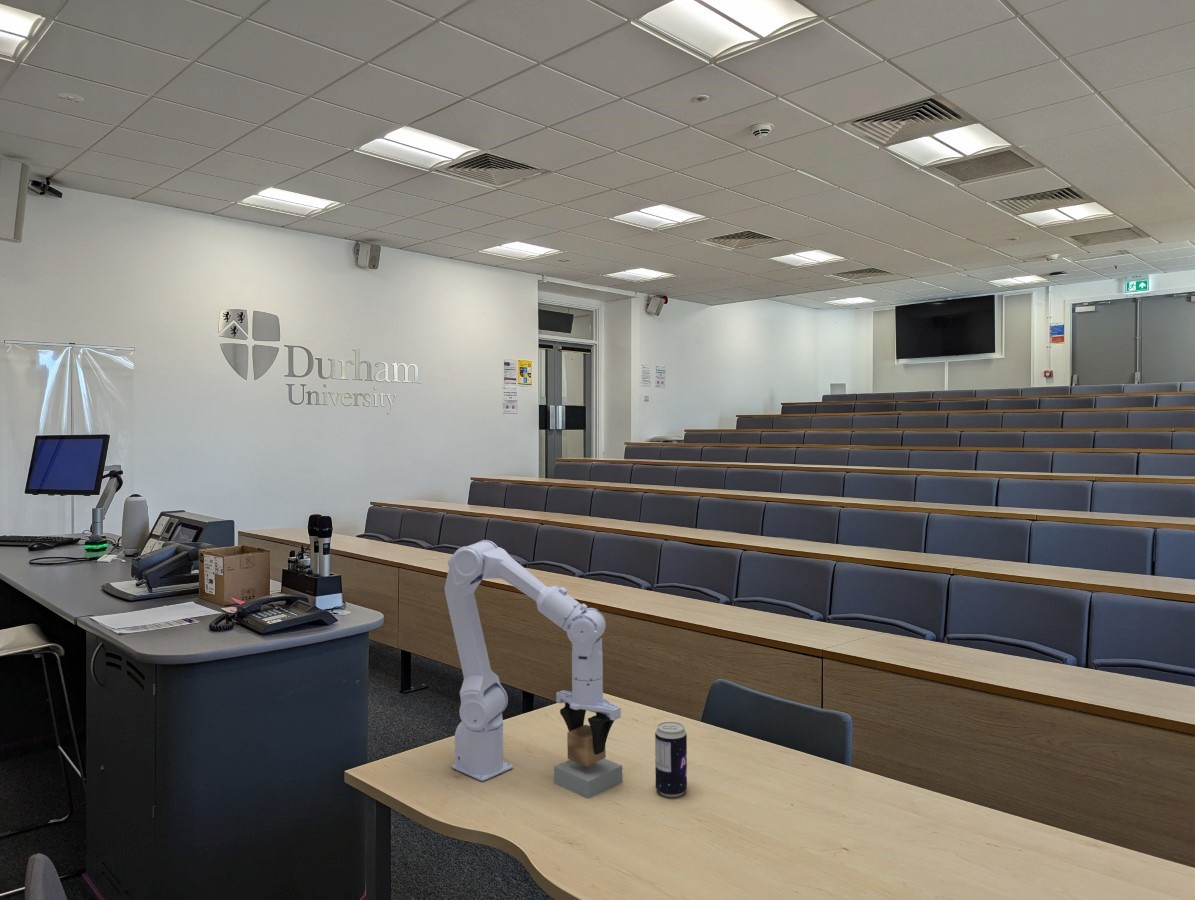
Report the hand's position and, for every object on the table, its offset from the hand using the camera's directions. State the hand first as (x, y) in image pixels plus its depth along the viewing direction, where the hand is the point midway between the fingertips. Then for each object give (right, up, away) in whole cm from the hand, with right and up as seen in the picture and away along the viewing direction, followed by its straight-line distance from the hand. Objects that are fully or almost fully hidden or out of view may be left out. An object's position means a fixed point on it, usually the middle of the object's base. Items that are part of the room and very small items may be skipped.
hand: (587, 748), depth 146 cm
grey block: (0, -7, 0) cm, 7 cm away
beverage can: (+15, -7, -4) cm, 17 cm away
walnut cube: (0, -2, 0) cm, 2 cm away
